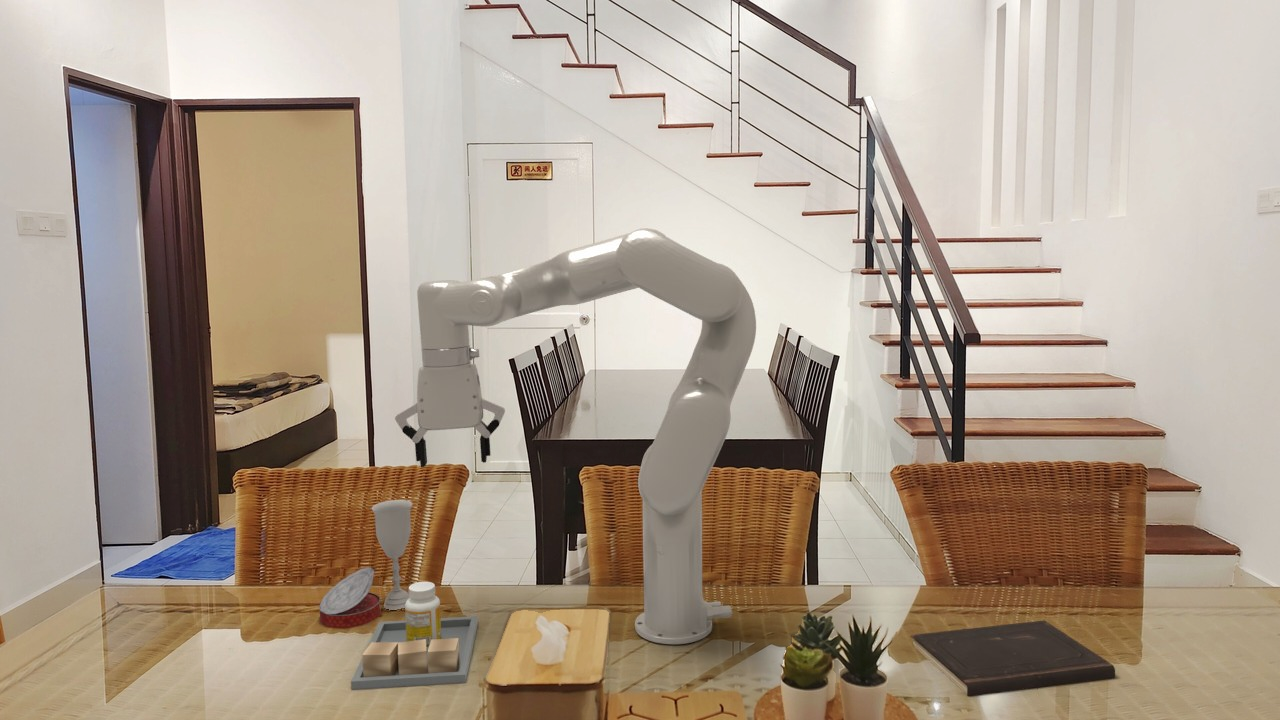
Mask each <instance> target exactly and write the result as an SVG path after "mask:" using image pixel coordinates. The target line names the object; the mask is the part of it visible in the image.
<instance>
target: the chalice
mask: <svg viewBox="0 0 1280 720" xmlns="http://www.w3.org/2000/svg"><path fill="white" fill-rule="evenodd" d="M412 507H413V502H412V501H411V500H406V499H395V500H394V499H393V500H392V499H391V500H386V501H382V502H378V503H375V504H374V505H373V506H371V510H372V512H373V514H374V518H375V519H374V520H375V521H374V523H375V536H376V538H377V541H378V543H379V546H380V547H381V549H382V551H383V552H384V554H385V556H386V557H387V558H389V559H392V566H391V568H390V569H391V570H392V573H393V575H392V577H391V581H393V588H392V590H390V591H389V592H388V593H387V595H386V598H385V600H384V604H383V605H384V607H385V608H386V609H389V610H388V611H390V610H397V609H401V608H405V603H406V601H407V600H408V599H409V598H410V597H409V592H407V590H405V589H402V587H401V586H400V581H401V579H402V576H400V573H399V572H400V569H401V566H400V564H399V558H400V557H402V556H403V555H404V553H405V550H406V548H407V546H408V543H409V541H410V537H411V533H412V524H411V523H412V522H411V521H412V520H411V510H412ZM386 609H385V610H386ZM397 611H398V610H397Z"/></svg>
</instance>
